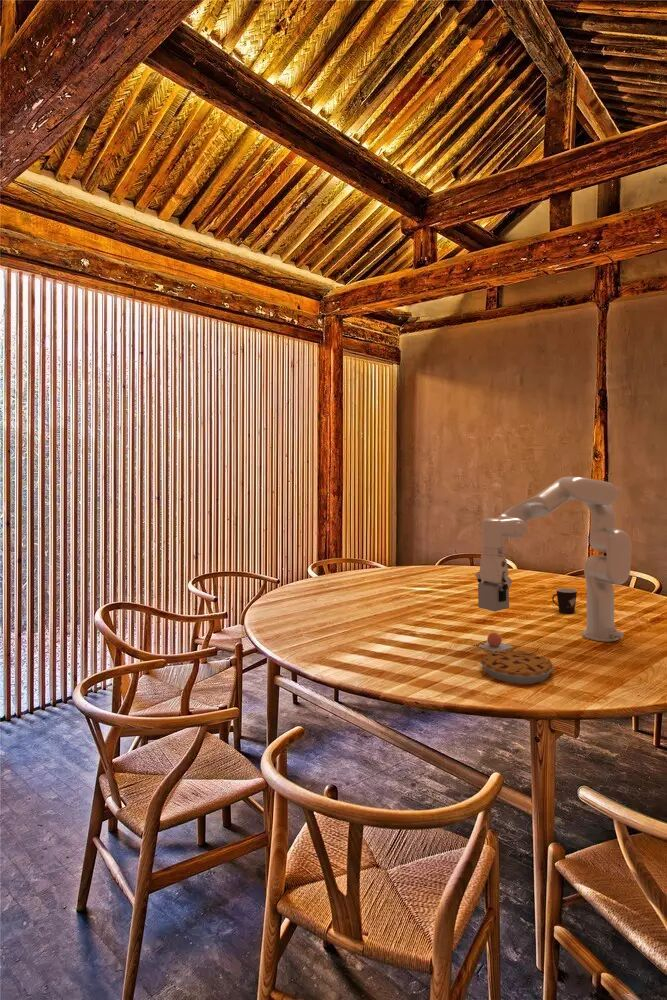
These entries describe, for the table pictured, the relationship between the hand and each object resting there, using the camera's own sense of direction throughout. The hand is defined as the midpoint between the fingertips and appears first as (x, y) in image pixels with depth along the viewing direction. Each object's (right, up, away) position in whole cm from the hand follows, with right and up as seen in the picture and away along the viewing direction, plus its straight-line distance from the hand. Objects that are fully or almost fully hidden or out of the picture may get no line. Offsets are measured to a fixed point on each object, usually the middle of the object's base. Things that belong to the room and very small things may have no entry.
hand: (493, 598), depth 199 cm
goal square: (0, -18, +1) cm, 18 cm away
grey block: (0, -3, 0) cm, 3 cm away
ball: (+1, -15, +1) cm, 15 cm away
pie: (0, -20, -25) cm, 32 cm away
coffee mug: (+45, -15, +46) cm, 66 cm away
